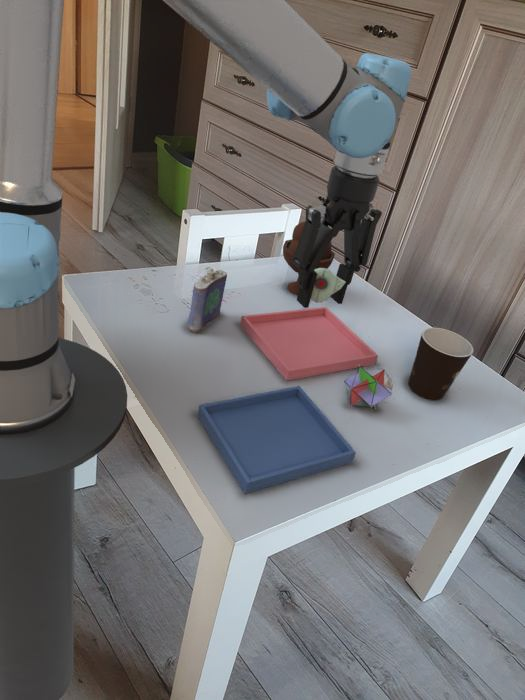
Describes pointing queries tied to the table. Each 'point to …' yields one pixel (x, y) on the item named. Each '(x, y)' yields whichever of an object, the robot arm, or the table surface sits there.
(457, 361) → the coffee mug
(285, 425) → the blue tray
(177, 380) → the table surface
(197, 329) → the flask
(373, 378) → the wire icosahedron model
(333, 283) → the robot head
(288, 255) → the ice cream bowl
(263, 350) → the rose tray
